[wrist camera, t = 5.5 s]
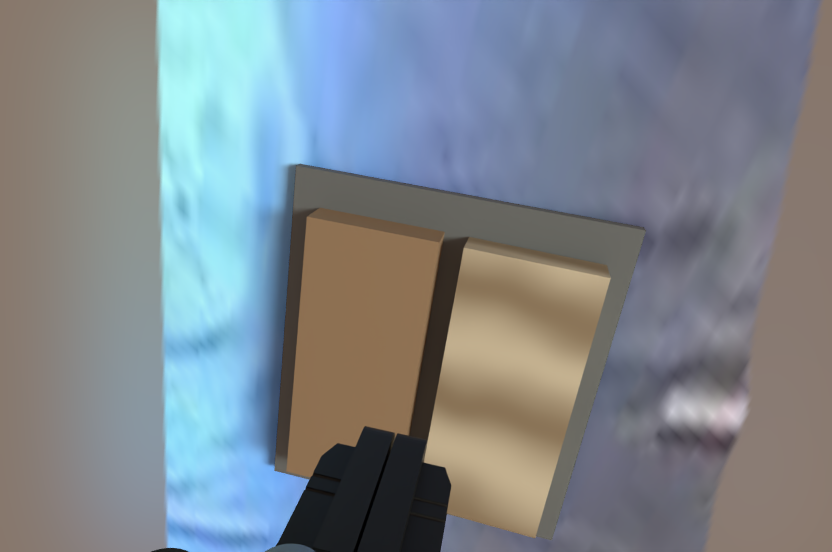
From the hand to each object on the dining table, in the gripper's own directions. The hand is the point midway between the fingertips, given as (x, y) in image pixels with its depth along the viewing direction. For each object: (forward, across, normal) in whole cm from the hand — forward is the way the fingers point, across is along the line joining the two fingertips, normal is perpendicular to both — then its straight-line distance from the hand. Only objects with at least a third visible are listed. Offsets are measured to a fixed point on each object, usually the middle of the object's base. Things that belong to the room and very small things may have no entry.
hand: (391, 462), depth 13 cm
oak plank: (+17, -4, +8) cm, 20 cm away
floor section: (+18, 0, +8) cm, 20 cm away
